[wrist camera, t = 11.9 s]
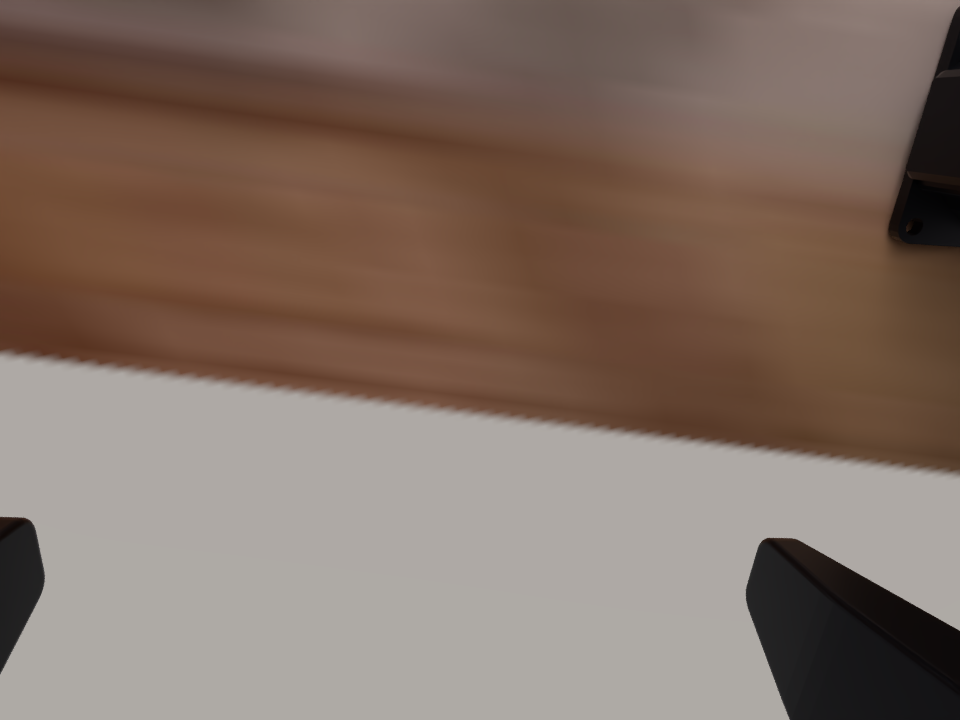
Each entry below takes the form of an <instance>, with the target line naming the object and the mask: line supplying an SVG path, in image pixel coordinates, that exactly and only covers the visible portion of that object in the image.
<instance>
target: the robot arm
mask: <svg viewBox="0 0 960 720" xmlns="http://www.w3.org/2000/svg"><path fill="white" fill-rule="evenodd" d="M912 219H913V220H914V223H913V227H912V228H911V230H909V231H908V232H907V231H906V226H907V224H908V223H909V222H910V221H911V220H912ZM889 232H890V235H891V236H892V237H893V238H894V239H895V240H898V241H901V242H905V243H909V244H922V245H937V246H953V247H960V7H959V8H958V9H957V10H956V12H955V14H954V16H953V19H952V22H951V25H950V29H949V32H948V35H947V38H946V42H945V45H944V48H943V52H942V55H941V58H940V61H939V65H938V68H937V71H936V74H935V78H934V80H933V82H932V85H931V88H930V92H929V95H928V98H927V101H926V105H925V108H924V111H923V115H922V118H921V121H920V124H919V128H918V131H917V134H916V137H915V141H914V144H913V147H912V150H911V154H910V157H909V160H908V164H907V167H906V172H905V175H904V179H903V182H902V185H901V188H900V192H899V195H898V198H897V202H896V205H895V208H894V211H893V215H892V218H891V221H890V226H889ZM44 579H45V575H44V568H43V563H42V558H41V554H40V548H39V544H38V539H37V534H36V530H35V527H34V525H33V523H32V522H31V521H30V520H28V519H26V518H18V517H0V674H1V672H2V670H3V668H4V666H5V664H6V662H7V660H8V658H9V656H10V654H11V652H12V650H13V649H14V646H15V645H16V643H17V641H18V639H19V637H20V635H21V633H22V631H23V629H24V627H25V625H26V623H27V621H28V619H29V617H30V615H31V614H32V612H33V610H34V608H35V606H36V604H37V602H38V600H39V598H40V596H41V593H42V590H43V587H44ZM746 601H747V606H748V609H749V612H750V615H751V618H752V620H753V623H754V625H755V628H756V631H757V634H758V636H759V639H760V642H761V645H762V647H763V650H764V653H765V655H766V658H767V661H768V664H769V666H770V669H771V672H772V674H773V677H774V680H775V682H776V685H777V688H778V691H779V693H780V696H781V699H782V701H783V704H784V706H785V709H786V711H787V714H788V716H789V719H790V720H960V631H959V630H957V629H955V628H954V627H952V626H950V625H948V624H947V623H945V622H943V621H941V620H939V619H938V618H936V617H934V616H932V615H931V614H929V613H927V612H925V611H923V610H922V609H920V608H918V607H916V606H915V605H913V604H911V603H909V602H907V601H906V600H904V599H902V598H900V597H899V596H897V595H895V594H893V593H891V592H890V591H888V590H886V589H884V588H883V587H881V586H879V585H877V584H875V583H874V582H872V581H870V580H868V579H867V578H865V577H863V576H861V575H859V574H858V573H856V572H854V571H852V570H851V569H849V568H847V567H845V566H843V565H842V564H840V563H838V562H836V561H835V560H833V559H831V558H829V557H827V556H826V555H824V554H822V553H820V552H819V551H817V550H815V549H813V548H811V547H810V546H808V545H806V544H804V543H803V542H801V541H799V540H796V539H792V538H767V539H765V540H763V541H762V542H761V543H760V545H759V547H758V550H757V553H756V556H755V560H754V563H753V567H752V570H751V573H750V577H749V580H748V584H747V588H746Z"/></svg>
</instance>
